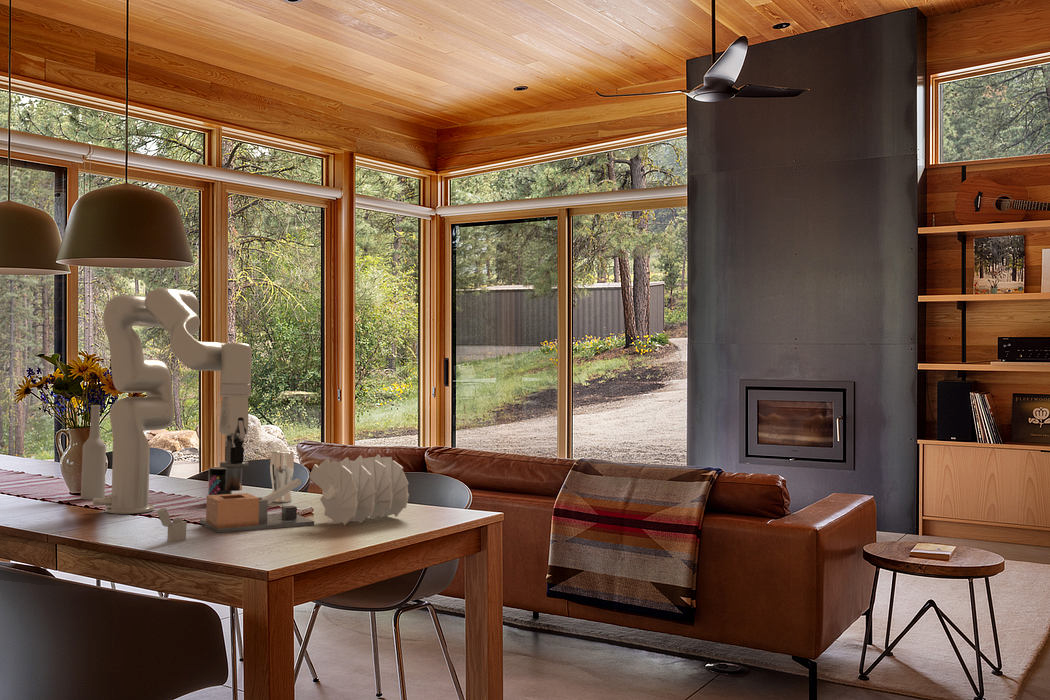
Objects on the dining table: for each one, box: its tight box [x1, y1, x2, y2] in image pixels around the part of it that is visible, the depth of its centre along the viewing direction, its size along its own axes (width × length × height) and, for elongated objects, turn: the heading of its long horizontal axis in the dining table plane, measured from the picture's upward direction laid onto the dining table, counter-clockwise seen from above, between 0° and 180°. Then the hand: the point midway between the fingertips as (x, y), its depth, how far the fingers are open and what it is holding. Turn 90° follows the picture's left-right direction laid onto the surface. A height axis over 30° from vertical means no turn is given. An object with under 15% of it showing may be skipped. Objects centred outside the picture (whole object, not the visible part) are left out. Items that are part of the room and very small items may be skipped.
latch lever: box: [261, 478, 303, 505], centre depth 245 cm, size 12×2×1 cm, turn 124°
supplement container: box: [207, 466, 233, 495], centre depth 276 cm, size 7×7×10 cm
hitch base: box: [199, 492, 315, 534], centre depth 241 cm, size 25×16×8 cm, turn 123°
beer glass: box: [269, 450, 295, 504], centre depth 282 cm, size 7×7×15 cm
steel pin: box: [219, 439, 249, 492], centre depth 238 cm, size 7×7×13 cm
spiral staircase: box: [309, 453, 410, 526], centre depth 250 cm, size 18×18×25 cm
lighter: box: [156, 507, 188, 543], centre depth 216 cm, size 7×2×8 cm, turn 148°
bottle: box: [80, 404, 107, 501], centre depth 280 cm, size 7×7×28 cm
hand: (234, 461), depth 238 cm, fingers closed on steel pin, 4 cm apart
